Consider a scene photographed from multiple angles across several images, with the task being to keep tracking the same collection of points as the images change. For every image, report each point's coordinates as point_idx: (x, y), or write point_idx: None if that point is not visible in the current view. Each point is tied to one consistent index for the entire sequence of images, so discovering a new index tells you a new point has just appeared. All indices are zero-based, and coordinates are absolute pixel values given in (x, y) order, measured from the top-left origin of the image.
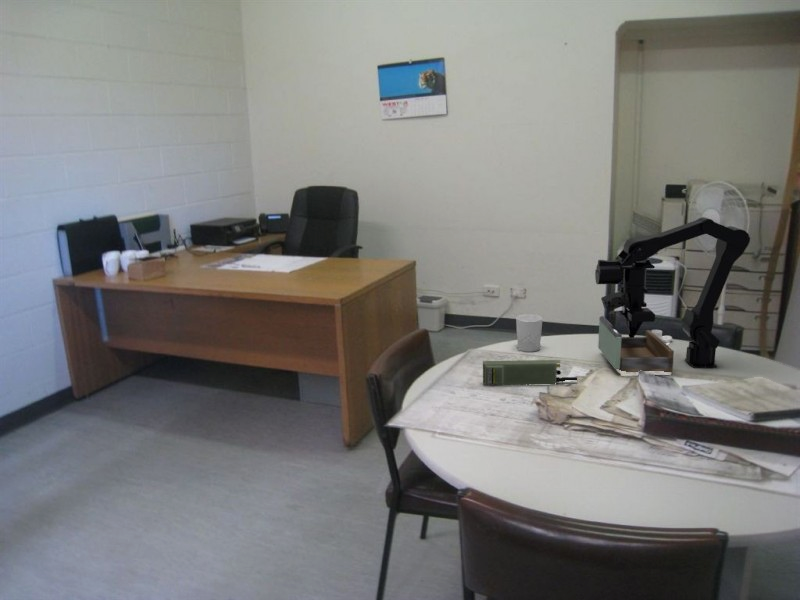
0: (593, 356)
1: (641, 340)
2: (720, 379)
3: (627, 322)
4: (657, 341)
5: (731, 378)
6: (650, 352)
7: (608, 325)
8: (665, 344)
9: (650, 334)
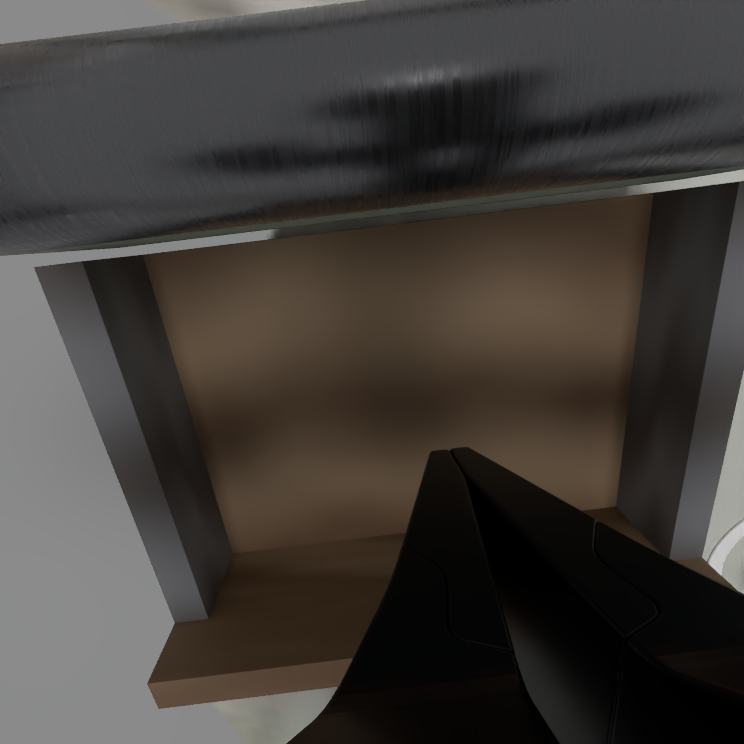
0: None
1: (658, 513)
2: (221, 703)
3: (567, 592)
4: None
5: (243, 735)
6: None
7: (480, 1)
8: (335, 683)
9: None
